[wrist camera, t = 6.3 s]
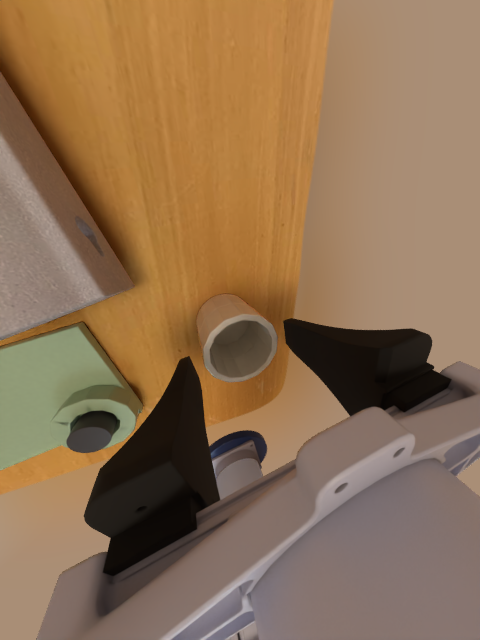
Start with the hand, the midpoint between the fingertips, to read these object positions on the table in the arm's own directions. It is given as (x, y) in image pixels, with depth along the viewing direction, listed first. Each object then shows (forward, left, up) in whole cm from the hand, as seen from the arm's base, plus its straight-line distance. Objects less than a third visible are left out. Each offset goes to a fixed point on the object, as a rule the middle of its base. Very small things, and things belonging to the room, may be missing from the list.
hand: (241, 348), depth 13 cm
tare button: (-4, +13, -3) cm, 14 cm away
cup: (0, 0, -5) cm, 5 cm away
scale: (-1, +17, -5) cm, 18 cm away
